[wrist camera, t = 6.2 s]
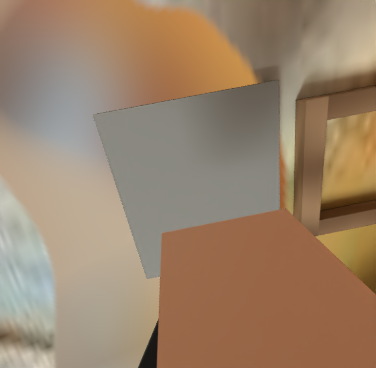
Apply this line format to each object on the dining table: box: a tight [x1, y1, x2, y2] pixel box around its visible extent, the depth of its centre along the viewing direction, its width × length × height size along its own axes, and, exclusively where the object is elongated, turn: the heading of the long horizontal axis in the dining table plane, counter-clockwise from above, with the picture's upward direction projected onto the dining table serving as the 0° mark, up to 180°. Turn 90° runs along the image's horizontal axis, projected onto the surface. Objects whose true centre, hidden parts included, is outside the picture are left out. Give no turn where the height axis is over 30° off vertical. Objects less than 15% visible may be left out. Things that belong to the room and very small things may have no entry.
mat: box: [93, 80, 280, 279], centre depth 17 cm, size 14×12×1 cm
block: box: [157, 208, 376, 368], centre depth 7 cm, size 5×5×6 cm
